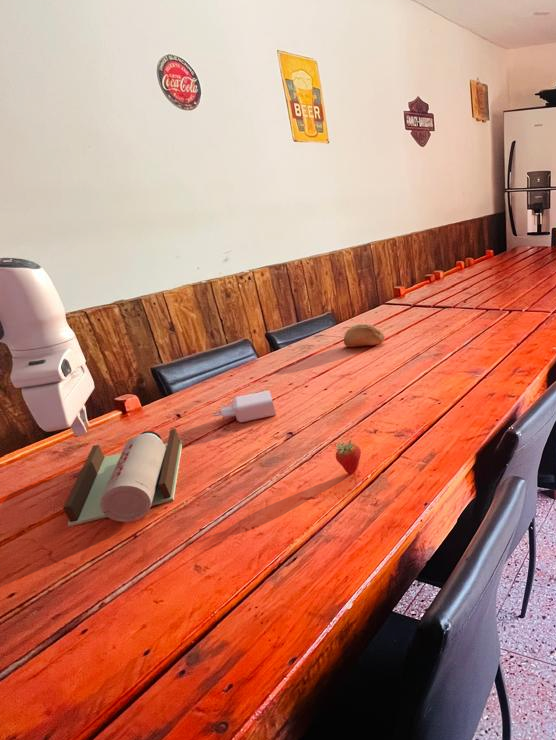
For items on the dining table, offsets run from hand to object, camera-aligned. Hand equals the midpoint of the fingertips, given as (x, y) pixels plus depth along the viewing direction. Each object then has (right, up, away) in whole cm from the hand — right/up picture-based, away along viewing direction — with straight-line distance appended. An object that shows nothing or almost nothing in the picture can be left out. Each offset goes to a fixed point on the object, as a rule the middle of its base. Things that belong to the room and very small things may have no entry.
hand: (82, 431), depth 91 cm
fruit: (+43, -9, +20) cm, 48 cm away
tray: (-6, -11, +21) cm, 25 cm away
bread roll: (+28, +29, +100) cm, 107 cm away
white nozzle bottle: (+7, +3, +48) cm, 49 cm away
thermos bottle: (+5, -14, +4) cm, 15 cm away
